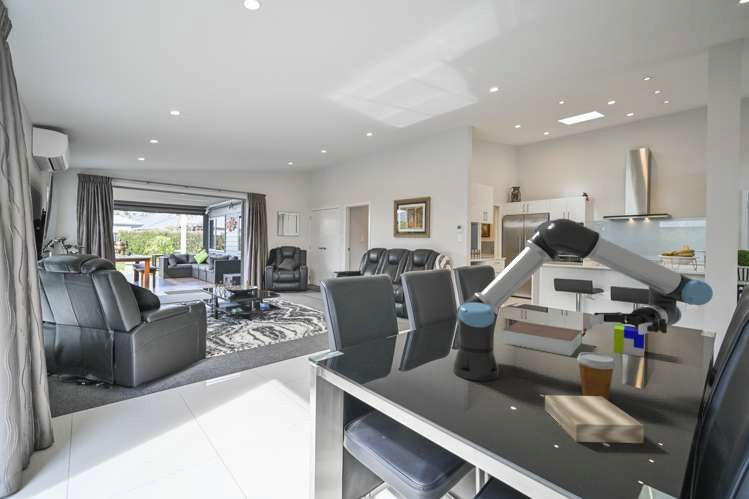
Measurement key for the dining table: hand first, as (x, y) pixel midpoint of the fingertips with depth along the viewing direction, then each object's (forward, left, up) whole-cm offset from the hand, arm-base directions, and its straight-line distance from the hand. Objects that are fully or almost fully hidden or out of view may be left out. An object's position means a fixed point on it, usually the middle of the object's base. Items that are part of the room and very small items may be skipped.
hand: (614, 324), depth 106 cm
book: (+2, +51, -21) cm, 55 cm away
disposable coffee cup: (-8, -5, -21) cm, 23 cm away
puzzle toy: (+34, +41, -21) cm, 57 cm away
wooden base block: (-19, -21, -20) cm, 35 cm away
